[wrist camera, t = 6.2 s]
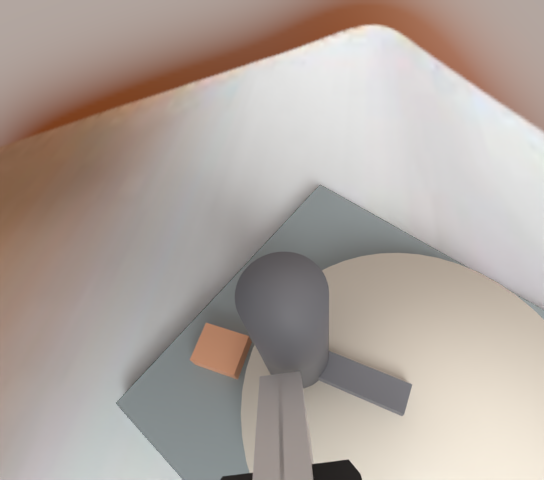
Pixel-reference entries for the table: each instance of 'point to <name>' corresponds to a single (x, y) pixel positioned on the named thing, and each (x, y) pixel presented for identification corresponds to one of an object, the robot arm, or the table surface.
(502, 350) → the dial
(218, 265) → the table surface
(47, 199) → the table surface
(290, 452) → the robot arm
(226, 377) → the dial board
